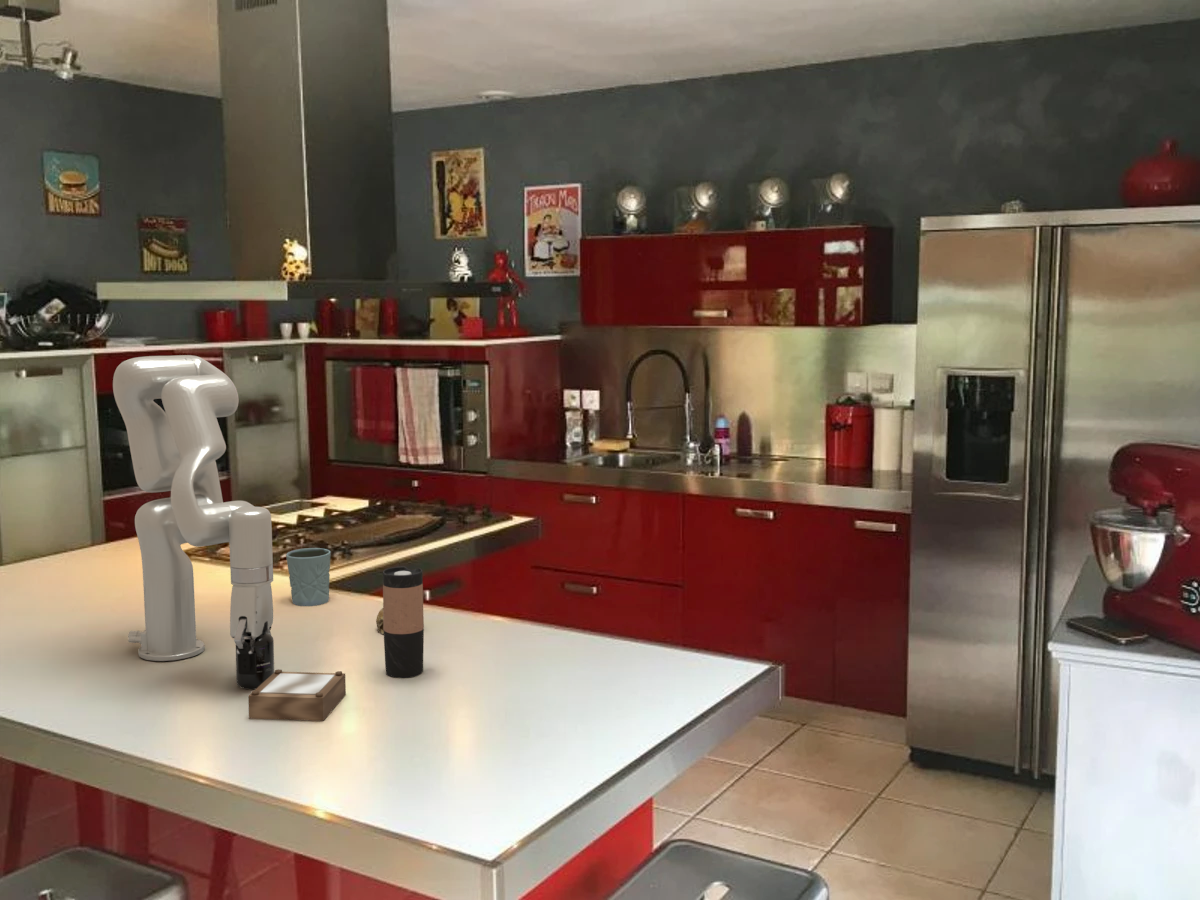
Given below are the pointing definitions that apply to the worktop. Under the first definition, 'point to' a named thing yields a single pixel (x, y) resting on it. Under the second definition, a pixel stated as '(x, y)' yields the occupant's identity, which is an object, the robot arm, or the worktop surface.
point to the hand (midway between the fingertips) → (255, 666)
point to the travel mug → (403, 621)
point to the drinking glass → (309, 576)
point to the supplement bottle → (259, 661)
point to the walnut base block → (297, 696)
